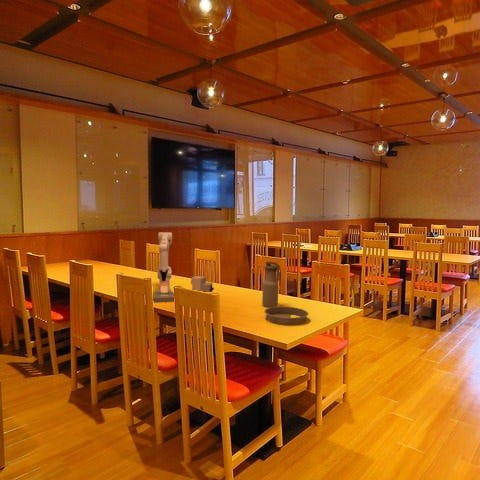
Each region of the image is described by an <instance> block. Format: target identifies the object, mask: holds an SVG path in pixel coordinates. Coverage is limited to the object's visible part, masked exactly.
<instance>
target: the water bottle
mask: <svg viewBox="0 0 480 480" xmlns="http://www.w3.org/2000/svg"><path fill="white" fill-rule="evenodd" d="M265 264H266V265H265V268H264V269H265V270H264V271H265V280H264V281H263V283H262V300H261V303H262V307H263V308H264V307H265V308H270V307H279V305H278V304H279V281H280V269H281V268H280V267H281V265H280V264H279V263H278V262H276V261H269V260H268V261H265Z"/></svg>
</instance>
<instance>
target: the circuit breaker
mask: <svg viewBox="0 0 480 480" xmlns="http://www.w3.org/2000/svg"><path fill="white" fill-rule="evenodd" d="M190 285H191V291H192V290H197V291H203V292H212V293H213V291H214V290H215V287H213V282H210V281H209V282H208V281H207V277H206V276H201V275H200V276H198V275H195V276H193V277H191V280H190Z"/></svg>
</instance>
